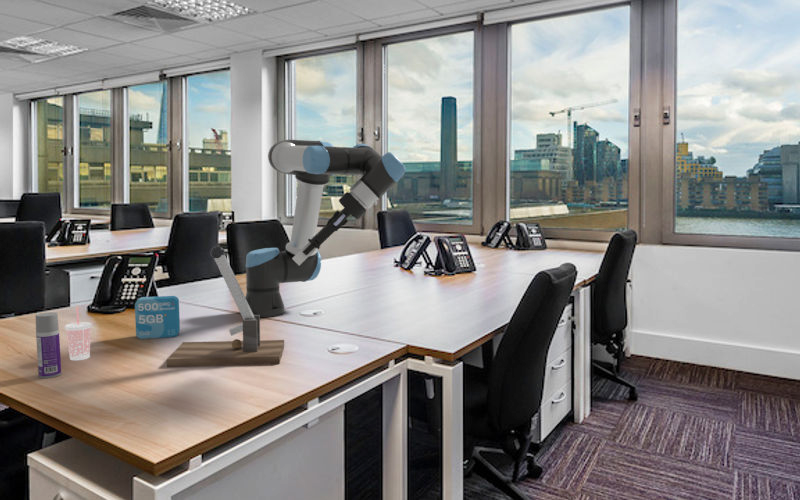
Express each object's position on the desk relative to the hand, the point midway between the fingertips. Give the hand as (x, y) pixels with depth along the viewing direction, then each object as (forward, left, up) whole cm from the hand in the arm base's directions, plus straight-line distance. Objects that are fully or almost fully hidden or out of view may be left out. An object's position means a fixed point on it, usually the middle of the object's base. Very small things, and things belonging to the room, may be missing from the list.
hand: (295, 261), depth 152 cm
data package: (-23, -43, -26) cm, 55 cm away
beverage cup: (-2, -57, -26) cm, 63 cm away
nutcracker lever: (0, -13, -19) cm, 23 cm away
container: (+12, -58, -26) cm, 65 cm away
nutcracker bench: (0, -18, -26) cm, 31 cm away
